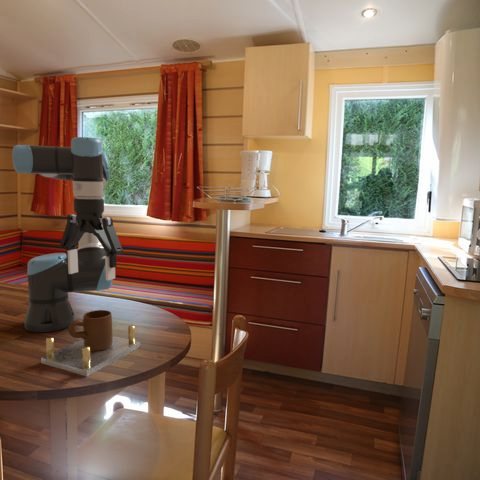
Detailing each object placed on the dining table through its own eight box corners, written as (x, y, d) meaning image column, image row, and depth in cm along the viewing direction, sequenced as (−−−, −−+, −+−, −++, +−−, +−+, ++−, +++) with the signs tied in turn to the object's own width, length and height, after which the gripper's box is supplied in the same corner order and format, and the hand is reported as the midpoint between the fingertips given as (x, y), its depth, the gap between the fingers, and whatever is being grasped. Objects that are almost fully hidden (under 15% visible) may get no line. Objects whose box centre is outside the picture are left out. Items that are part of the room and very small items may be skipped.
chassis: (41, 363, 104) (40, 339, 103) (98, 337, 122) (97, 316, 121) (86, 376, 97) (85, 351, 96) (140, 346, 115) (139, 325, 114)
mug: (76, 359, 103) (75, 324, 101) (63, 351, 108) (61, 317, 106) (118, 346, 112) (117, 314, 110) (104, 338, 117) (103, 307, 115)
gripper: (43, 196, 107) (47, 273, 110) (115, 200, 96) (117, 285, 99) (66, 195, 113) (69, 267, 117) (135, 199, 103) (136, 278, 106)
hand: (91, 276), depth 108 cm, fingers open, 13 cm apart
